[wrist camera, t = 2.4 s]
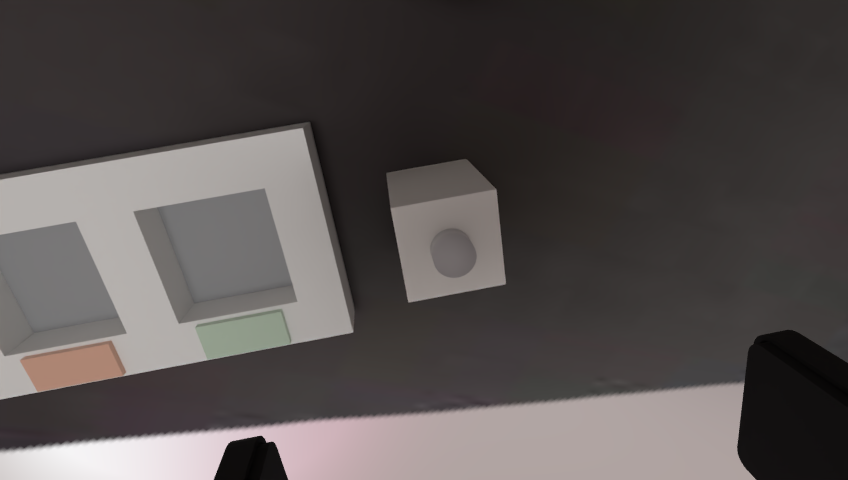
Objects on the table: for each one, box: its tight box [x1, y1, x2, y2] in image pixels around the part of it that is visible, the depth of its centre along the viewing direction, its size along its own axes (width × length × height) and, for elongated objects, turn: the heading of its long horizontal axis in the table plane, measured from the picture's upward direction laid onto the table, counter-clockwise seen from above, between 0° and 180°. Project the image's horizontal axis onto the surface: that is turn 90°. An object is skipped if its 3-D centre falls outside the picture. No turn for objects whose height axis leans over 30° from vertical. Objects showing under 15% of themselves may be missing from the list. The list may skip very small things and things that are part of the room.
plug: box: [386, 159, 506, 303], centre depth 20 cm, size 4×4×7 cm
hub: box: [0, 121, 355, 399], centre depth 22 cm, size 18×10×3 cm, turn 99°
